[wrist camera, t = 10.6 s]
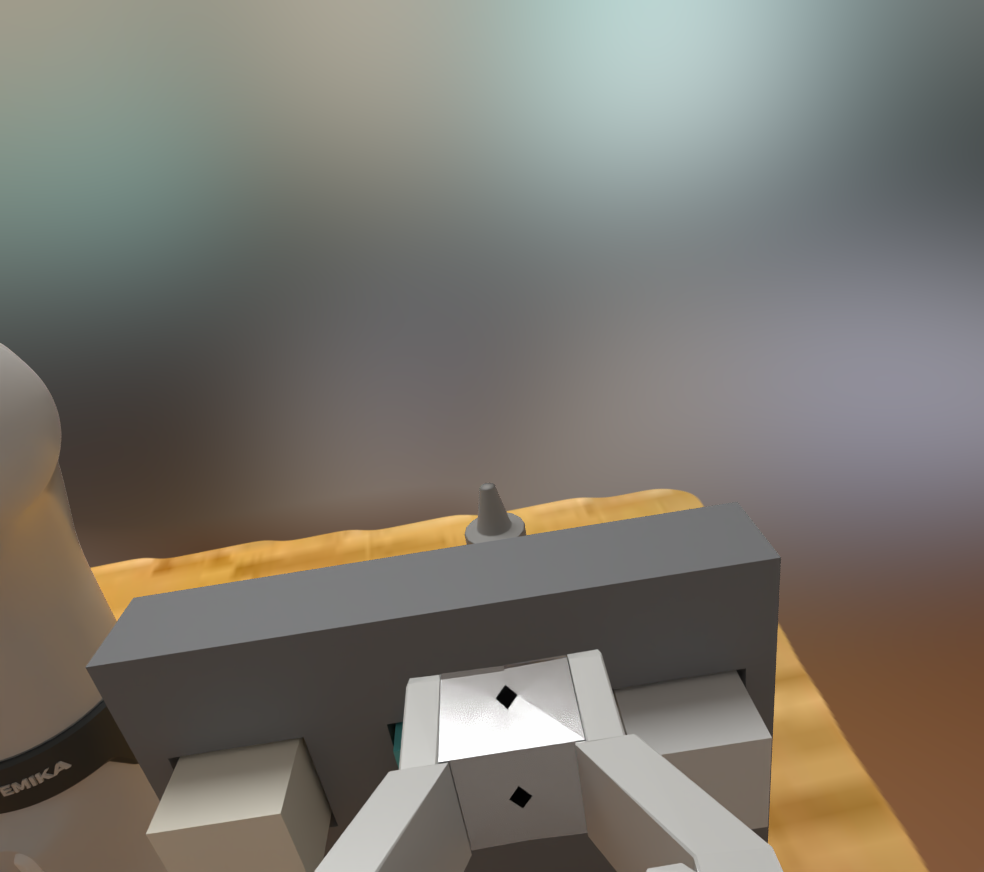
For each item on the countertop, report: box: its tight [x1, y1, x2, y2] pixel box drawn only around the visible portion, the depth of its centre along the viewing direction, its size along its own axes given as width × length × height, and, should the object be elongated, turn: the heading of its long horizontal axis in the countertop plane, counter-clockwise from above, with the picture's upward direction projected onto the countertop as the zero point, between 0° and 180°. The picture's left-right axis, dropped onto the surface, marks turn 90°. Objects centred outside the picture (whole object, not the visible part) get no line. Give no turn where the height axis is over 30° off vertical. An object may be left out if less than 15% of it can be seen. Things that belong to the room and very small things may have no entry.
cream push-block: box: [146, 737, 332, 872], centre depth 27 cm, size 5×6×5 cm
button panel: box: [85, 502, 781, 872], centre depth 31 cm, size 26×4×26 cm, turn 93°
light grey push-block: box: [612, 670, 772, 829], centre depth 27 cm, size 5×6×5 cm
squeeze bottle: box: [465, 483, 526, 545], centre depth 52 cm, size 8×8×18 cm
